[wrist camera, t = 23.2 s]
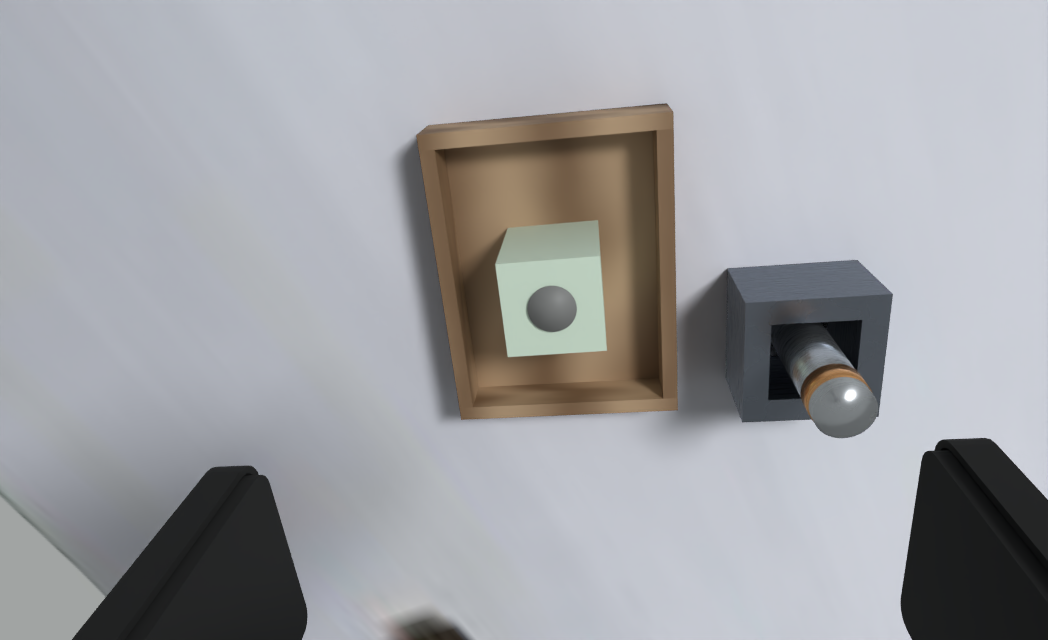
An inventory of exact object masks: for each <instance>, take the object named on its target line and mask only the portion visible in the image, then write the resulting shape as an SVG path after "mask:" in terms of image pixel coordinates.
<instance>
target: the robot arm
mask: <svg viewBox="0 0 1048 640" xmlns="http://www.w3.org/2000/svg"><path fill="white" fill-rule="evenodd" d="M901 612H902V617H903V620H904V624H905V626H906V628H907V631H908V633H909V635H910V636H911V638H912V640H1048V500H1047V498H1046V497H1045V496H1044V495H1043V494H1042V493H1041V492H1040V491H1039V490H1038V489H1037V488H1036V487H1035V485H1034V484H1033V483H1032V482H1031V481H1030V480H1029V479H1028V478H1027V477H1026V476H1025V475H1024V474H1023V473H1022V471H1021V470H1020V469H1019V468H1018V467H1017V466H1016V465H1015V464H1014V463H1013V462H1012V461H1011V460H1010V458H1009V457H1008V456H1007V455H1006V454H1005V453H1004V452H1003V451H1002V450H1001V449H1000V448H999V447H998V445H997V444H996V443H994V442H993V441H992V440H991V439H987V438H973V439H947V440H941V441H939V442H938V444H937V445H936V447H935V451H927V452H925V453H924V455H923V457H922V461H921V468H920V475H919V481H918V488H917V495H916V501H915V508H914V514H913V521H912V528H911V534H910V541H909V548H908V554H907V561H906V567H905V574H904V581H903V587H902V594H901ZM306 625H307V608H306V604H305V600H304V597H303V594H302V590H301V587H300V583H299V580H298V577H297V573H296V570H295V567H294V563H293V560H292V557H291V553H290V550H289V547H288V543H287V540H286V537H285V533H284V530H283V526H282V523H281V520H280V516H279V513H278V510H277V506H276V503H275V500H274V496H273V493H272V490H271V486H270V483H269V481H268V479H267V478H266V476H264V475H258V472H257V471H256V469H255V468H254V467H252V466H227V467H214V468H211V469H210V470H209V471H207V472H206V474H205V475H204V476H203V477H202V479H201V480H200V481H199V482H198V484H197V485H196V486H195V487H194V488H193V490H192V491H191V492H190V493H189V495H188V496H187V497H186V498H185V500H184V501H183V502H182V503H181V505H180V506H179V507H178V508H177V510H176V511H175V512H174V513H173V515H172V516H171V517H170V518H169V520H168V521H167V522H166V523H165V525H164V526H163V527H162V528H161V529H160V531H159V532H158V533H157V534H156V536H155V537H154V538H153V539H152V541H151V542H150V543H149V544H148V546H147V547H146V548H145V549H144V551H143V552H142V553H141V554H140V556H139V557H138V558H137V559H136V561H135V562H134V563H133V564H132V566H131V567H130V568H129V569H128V571H127V572H126V573H125V574H124V575H123V577H122V578H121V579H120V580H119V582H118V583H117V584H116V585H115V587H114V588H113V589H112V590H111V592H110V593H109V594H108V595H107V597H106V598H105V599H104V600H103V602H102V603H101V604H100V605H99V607H98V608H97V609H96V611H95V612H94V613H93V614H92V615H91V617H90V618H89V619H88V620H87V621H86V623H85V624H84V625H83V626H82V628H81V629H80V630H79V631H78V633H77V634H76V635H75V636H74V638H73V639H72V640H302V638H303V635H304V632H305V630H306Z"/></svg>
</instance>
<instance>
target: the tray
mask: <svg viewBox="0 0 1048 640" xmlns="http://www.w3.org/2000/svg"><path fill="white" fill-rule="evenodd" d="M416 136H417V143H418V149H419V155H420V162H421V168H422V174H423V181H424V187H425V193H426V199H427V206H428V212H429V218H430V225H431V231H432V237H433V244H434V250H435V256H436V263H437V269H438V275H439V282H440V288H441V294H442V300H443V307H444V313H445V319H446V326H447V332H448V338H449V345H450V351H451V357H452V364H453V370H454V376H455V382H456V389H457V395H458V401H459V408H460V414H461V420H465V419H488V418H511V417H534V416H557V415H579V414H602V413H625V412H648V411H671V410H678V398H677V331H676V264H675V197H674V130H673V111H672V110H671V108H670V107H669V106H668V104H667V103H666V104H655V105H645V106H634V107H623V108H612V109H601V110H590V111H579V112H569V113H558V114H547V115H536V116H525V117H514V118H503V119H493V120H482V121H471V122H460V123H449V124H438V125H428V126H427V127H426V128H425V129H423V130H422V131H421V132H419V133H418V134H417V135H416ZM593 220H598V227H599V241H600V254H601V268H602V282H603V296H604V311H605V328H606V344H607V351H596V352H580V353H565V354H549V355H534V356H518V357H508V355H507V347H506V340H505V333H504V325H503V318H502V311H501V303H500V296H499V288H498V281H497V274H496V266H495V264H496V261H497V258H498V255H499V252H500V249H501V246H502V243H503V240H504V237H505V235H506V232H507V229H508V228H512V227H524V226H535V225H547V224H559V223H570V222H582V221H593Z"/></svg>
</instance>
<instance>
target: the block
mask: <svg viewBox="0 0 1048 640" xmlns="http://www.w3.org/2000/svg"><path fill="white" fill-rule="evenodd" d="M892 296H893V294H892V293H891V292H890V291H889V290H888V289H887V288H886V287H885V286H884V285H883V284H882V283H881V282H880V281H879V280H878V279H876V278H875V277H874V276H873V275H872V274H871V273H870V272H869V271H868V270H867V269H866V268H865V267H864V266H863V265H862V264H861V263H860V262H859V261H858V260H850V261H835V262H819V263H804V264H789V265H774V266H758V267H743V268H728V269H727V327H726V380H727V382H728V385H729V388H730V391H731V393H732V396H733V399H734V401H735V404H736V407H737V409H738V412H739V415H740V418H741V420H742V422H761V421H785V420H809V419H811V418H810V416H809V414H808V412H807V410H806V408H805V406H804V405H803V403H802V400H801V397H800V395H799V393H798V391H797V389H796V387H795V386H794V384H793V382H792V380H791V378H790V376H789V374H788V372H787V371H786V369H785V367H784V365H783V363H782V361H781V359H780V358H779V356H770V344H771V325H780V324H798V323H815V322H828V327H827V331H828V333H829V334H830V335H831V337H832V338H833V340H834V341H835V342H836V344H837V345H838V347H839V348H840V349H841V351H842V352H843V353H844V355H845V356H846V358H847V359H848V360H849V362H850V363H851V364H852V366H853V367H854V369H855V370H857V371H858V372H859V374H860V375H861V376H862V378H863V379H864V380H865V382H866V383H867V385H868V386H869V387H870V389H871V391H872V393H873V395H874V396H875V398H876V400H877V403H878V413H877V416H876V417H878V415H879V406H880V398H881V390H882V381H883V373H884V364H885V356H886V347H887V339H888V330H889V322H890V313H891V305H892Z"/></svg>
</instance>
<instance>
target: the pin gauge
mask: <svg viewBox="0 0 1048 640" xmlns="http://www.w3.org/2000/svg"><path fill="white" fill-rule="evenodd" d="M771 343H772V345H773V346H774V348H775V350H776V352H777V354H778V356H779V358H780V359H781V361H782V363H783V365H784V367H785V369H786V371H787V372H788V374H789V376H790V378H791V380H792V382H793V384H794V386H795V387H796V389H797V391H798V393H799V395H800V397H801V400H802V403H803V405H804V406H805V408H806V410H807V412H808V414H809V416H810V418H811V419H812V420H813V422H814V423H815V425H816V426H817V428H818V429H819V430H820V431H821V432H823V433H824V434H826V435H828V436H831V437H835V438H848V437H852V436H856V435H858V434H860V433H862V432H864V431H865V430H866V429H868V428H869V427H870V426H871V425H872V423H873V422H874V420H875V419H876V416H877V413H878V403H877V400H876V398H875V396H874V395H873V393H872V391H871V389H870V387H869V386H868V385H867V383H866V382H865V380H864V379H863V378H862V376H861V375H860V374H859V372H858V371H857V370H855V369H854V367H853V366H852V364H851V363H850V362H849V360H848V359H847V358H846V356H845V355H844V353H843V352H842V351H841V349H840V348H839V347H838V345H837V344H836V342H835V341H834V340H833V338H832V337H831V335H830V334H829V333H828V331H827V330H826V329H825V327H824V326H823V324H822V323H821V322H815V323H798V324H780V325H771Z"/></svg>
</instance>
